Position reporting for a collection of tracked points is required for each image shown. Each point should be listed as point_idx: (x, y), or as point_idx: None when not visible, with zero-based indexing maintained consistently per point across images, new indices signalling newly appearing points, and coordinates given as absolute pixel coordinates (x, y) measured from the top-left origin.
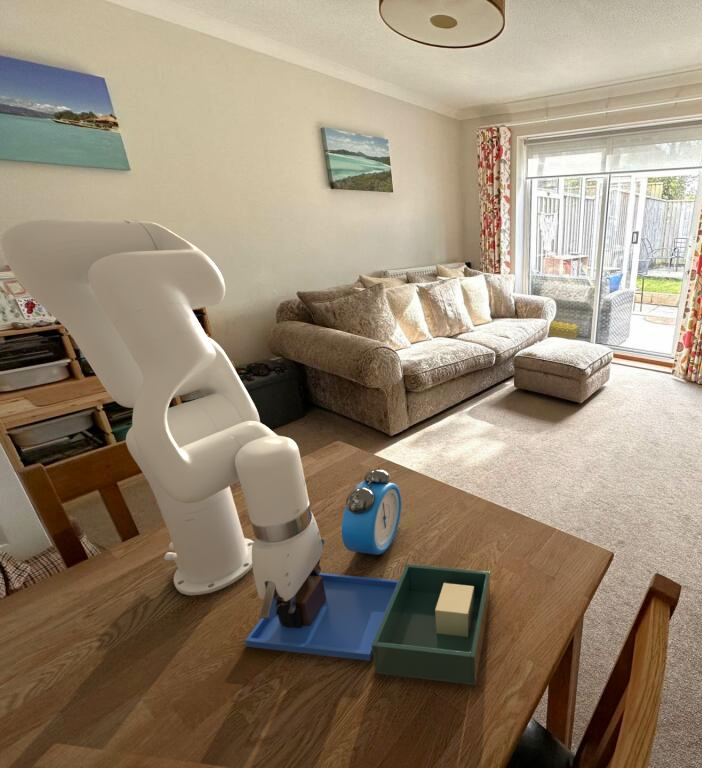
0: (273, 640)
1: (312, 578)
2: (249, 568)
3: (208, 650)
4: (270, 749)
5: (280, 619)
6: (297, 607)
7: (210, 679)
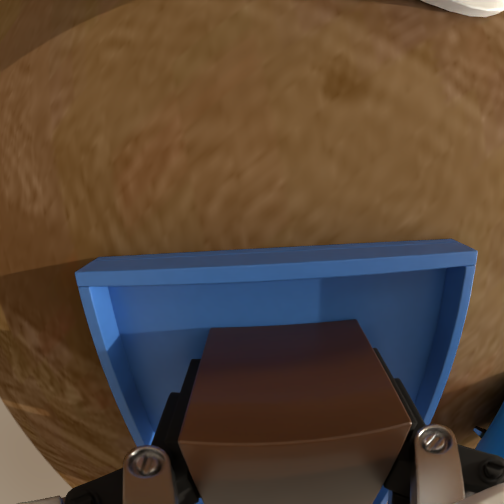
0: (140, 346)
1: (359, 500)
2: (443, 2)
3: (66, 114)
4: (20, 419)
5: (184, 380)
6: (199, 496)
7: (10, 216)
